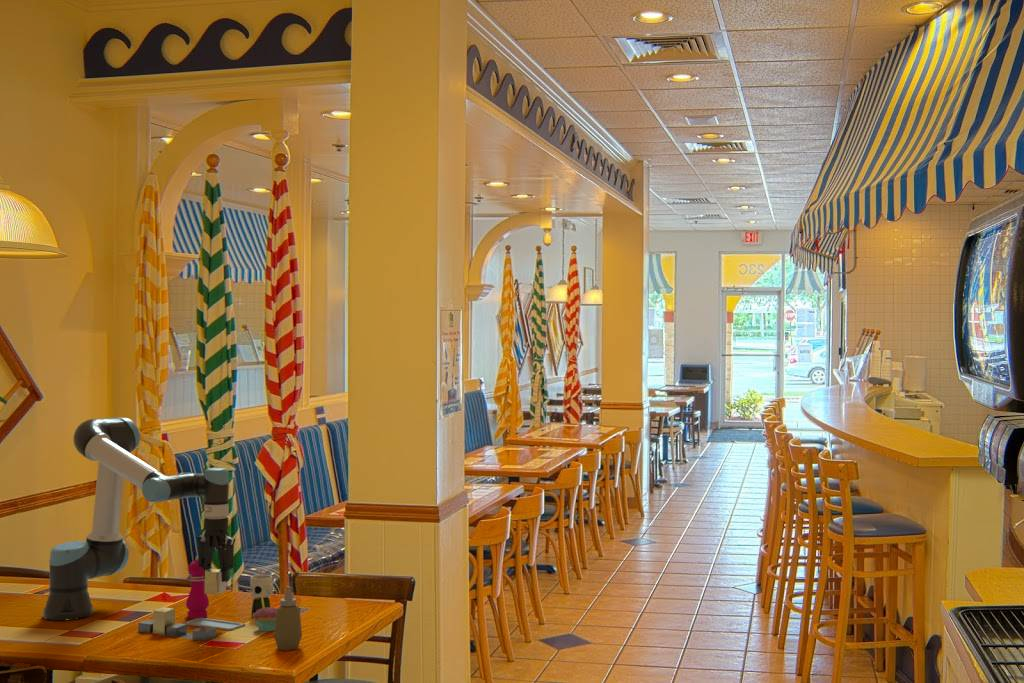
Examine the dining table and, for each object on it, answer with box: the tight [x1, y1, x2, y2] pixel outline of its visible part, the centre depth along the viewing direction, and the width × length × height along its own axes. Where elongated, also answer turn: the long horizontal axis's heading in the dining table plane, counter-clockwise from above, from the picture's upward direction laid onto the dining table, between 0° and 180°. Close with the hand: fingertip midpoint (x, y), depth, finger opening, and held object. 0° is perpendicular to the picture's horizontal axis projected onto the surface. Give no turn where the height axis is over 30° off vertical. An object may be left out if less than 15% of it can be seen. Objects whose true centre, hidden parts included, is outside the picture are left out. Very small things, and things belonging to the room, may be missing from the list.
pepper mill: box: [185, 555, 210, 619], centre depth 348 cm, size 7×7×20 cm
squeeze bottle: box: [273, 585, 303, 651], centre depth 312 cm, size 8×8×18 cm
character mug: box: [249, 574, 274, 617], centre depth 350 cm, size 11×7×13 cm, turn 53°
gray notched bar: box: [137, 618, 217, 642], centre depth 325 cm, size 26×5×3 cm, turn 66°
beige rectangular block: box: [204, 568, 226, 596], centre depth 337 cm, size 4×4×7 cm
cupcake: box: [252, 593, 277, 632], centre depth 332 cm, size 9×8×12 cm
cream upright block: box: [152, 606, 176, 636], centre depth 327 cm, size 4×4×7 cm
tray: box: [184, 617, 246, 632], centre depth 337 cm, size 18×7×1 cm, turn 66°
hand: (215, 590), depth 337 cm, fingers closed on beige rectangular block, 4 cm apart
